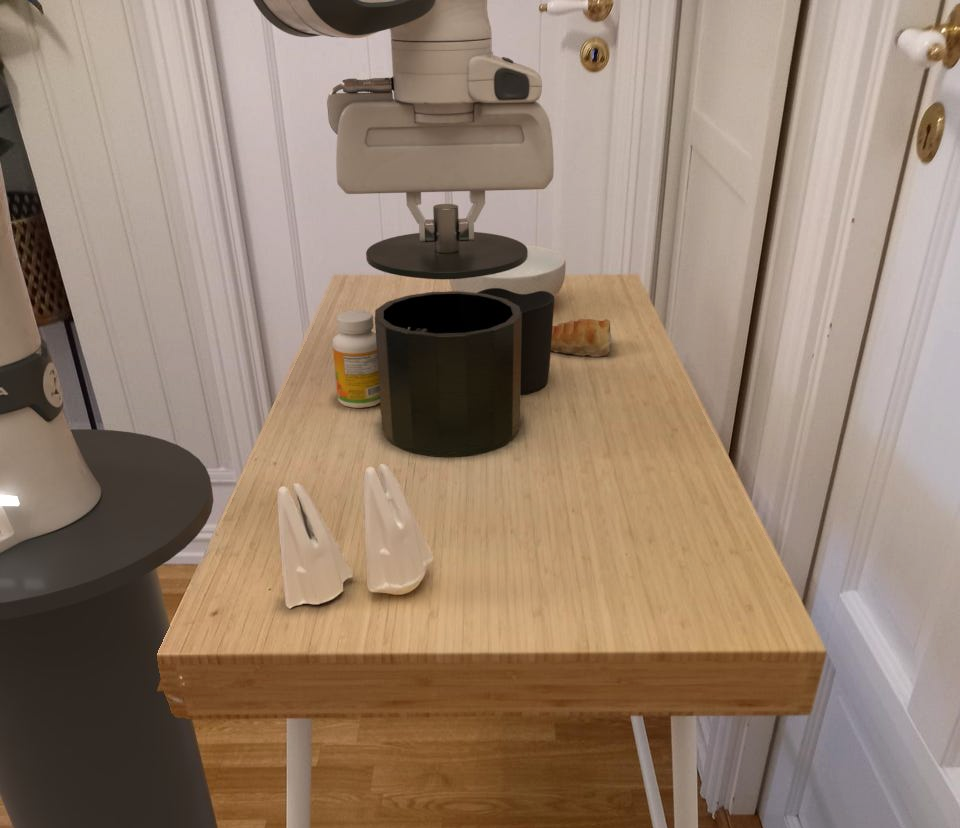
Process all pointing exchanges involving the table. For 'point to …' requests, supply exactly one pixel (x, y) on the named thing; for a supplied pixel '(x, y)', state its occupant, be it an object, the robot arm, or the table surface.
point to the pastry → (582, 337)
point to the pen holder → (532, 334)
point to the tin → (449, 372)
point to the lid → (446, 252)
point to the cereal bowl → (522, 275)
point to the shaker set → (321, 564)
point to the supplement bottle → (356, 360)
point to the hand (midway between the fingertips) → (446, 240)
